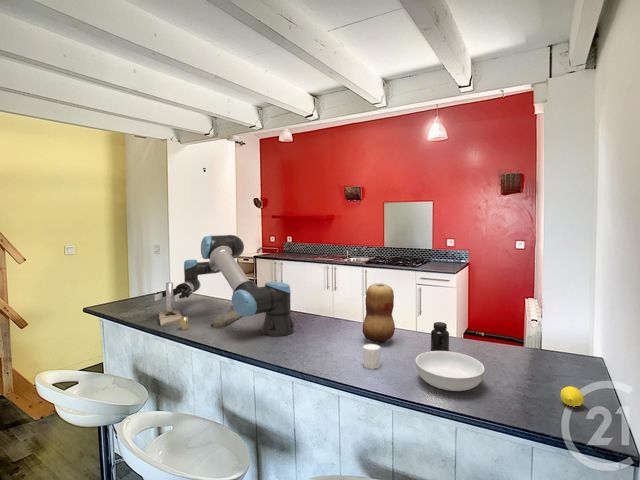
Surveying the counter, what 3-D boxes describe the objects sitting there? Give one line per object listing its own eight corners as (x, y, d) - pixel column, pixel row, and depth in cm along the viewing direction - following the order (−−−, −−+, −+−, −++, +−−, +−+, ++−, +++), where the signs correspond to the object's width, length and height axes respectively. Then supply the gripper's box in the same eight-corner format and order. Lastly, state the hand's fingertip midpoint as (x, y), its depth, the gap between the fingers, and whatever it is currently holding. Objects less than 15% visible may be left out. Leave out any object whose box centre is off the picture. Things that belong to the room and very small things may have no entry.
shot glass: (368, 360, 136) (368, 342, 136) (384, 365, 132) (384, 346, 131) (358, 366, 131) (358, 347, 130) (374, 371, 126) (374, 351, 126)
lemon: (562, 400, 107) (563, 381, 107) (584, 406, 103) (585, 387, 103) (557, 406, 102) (558, 386, 102) (581, 413, 98) (582, 392, 98)
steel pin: (174, 321, 189) (173, 283, 188) (166, 322, 188) (165, 283, 187) (173, 319, 192) (172, 282, 191) (166, 320, 191) (165, 282, 190)
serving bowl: (405, 388, 114) (405, 366, 114) (426, 365, 131) (426, 346, 131) (476, 407, 102) (477, 383, 102) (489, 379, 120) (490, 358, 119)
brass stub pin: (189, 329, 175) (188, 317, 174) (181, 331, 173) (181, 318, 172) (187, 327, 178) (187, 315, 177) (180, 329, 176) (179, 316, 175)
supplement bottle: (426, 352, 144) (427, 322, 143) (441, 349, 146) (441, 320, 146) (438, 358, 137) (438, 327, 137) (452, 355, 140) (453, 325, 139)
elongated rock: (205, 330, 179) (224, 333, 176) (205, 320, 178) (224, 322, 176) (238, 309, 212) (254, 310, 210) (238, 300, 212) (254, 302, 209)
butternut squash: (377, 350, 146) (377, 288, 145) (356, 340, 157) (356, 283, 156) (401, 343, 154) (402, 284, 152) (380, 334, 165) (380, 280, 163)
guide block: (181, 323, 186) (181, 316, 186) (160, 325, 182) (160, 318, 181) (179, 316, 198) (178, 310, 198) (159, 318, 194) (158, 312, 194)
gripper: (203, 296, 207) (187, 305, 184) (165, 295, 208) (144, 305, 186) (203, 282, 206) (186, 291, 184) (164, 282, 208) (143, 290, 185)
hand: (165, 298), depth 185 cm, fingers open, 10 cm apart
